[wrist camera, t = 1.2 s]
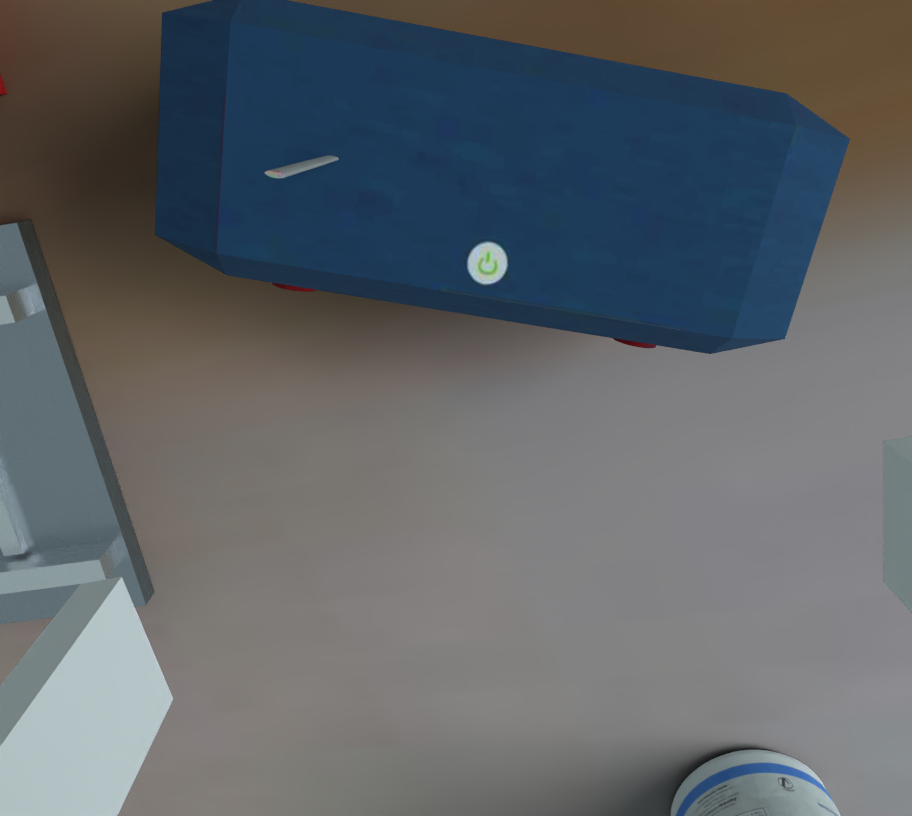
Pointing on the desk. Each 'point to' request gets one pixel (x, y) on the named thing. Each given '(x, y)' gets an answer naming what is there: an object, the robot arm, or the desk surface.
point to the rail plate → (51, 454)
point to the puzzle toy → (2, 87)
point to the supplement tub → (753, 788)
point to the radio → (486, 175)
